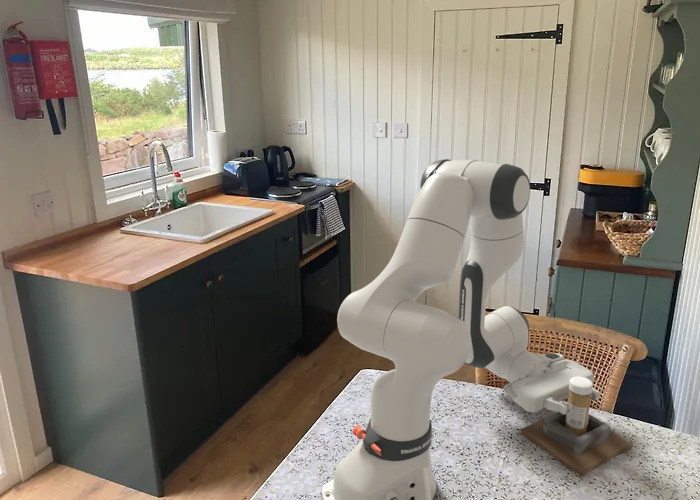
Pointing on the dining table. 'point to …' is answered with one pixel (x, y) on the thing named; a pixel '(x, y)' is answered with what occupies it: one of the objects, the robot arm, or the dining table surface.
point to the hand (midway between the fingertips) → (583, 403)
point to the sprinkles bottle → (578, 405)
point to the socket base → (576, 442)
